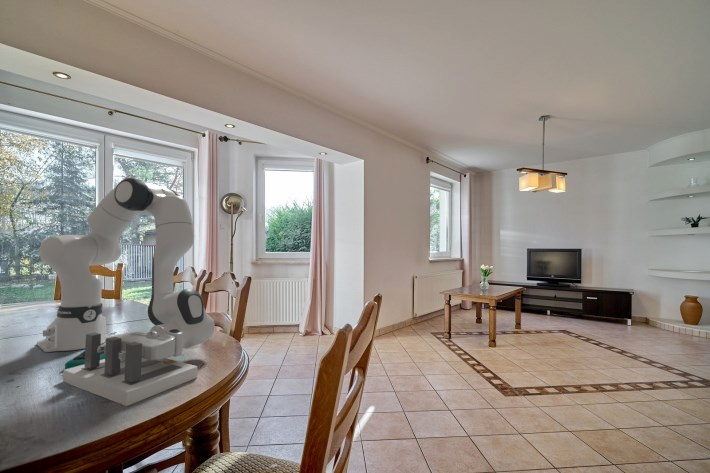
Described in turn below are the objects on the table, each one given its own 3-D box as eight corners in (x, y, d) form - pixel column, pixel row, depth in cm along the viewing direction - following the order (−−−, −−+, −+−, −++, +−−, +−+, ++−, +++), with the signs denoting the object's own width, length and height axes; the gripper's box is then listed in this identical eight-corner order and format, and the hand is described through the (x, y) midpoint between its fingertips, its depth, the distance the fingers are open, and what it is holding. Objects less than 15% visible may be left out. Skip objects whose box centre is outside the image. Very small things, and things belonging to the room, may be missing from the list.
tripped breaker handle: (104, 372, 81) (106, 338, 82) (113, 370, 83) (114, 336, 83) (111, 375, 80) (112, 340, 80) (120, 372, 82) (121, 338, 82)
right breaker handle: (124, 380, 77) (126, 343, 77) (133, 377, 79) (134, 341, 79) (131, 382, 76) (133, 345, 76) (140, 379, 78) (142, 343, 78)
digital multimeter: (113, 353, 107) (114, 344, 107) (95, 369, 93) (95, 359, 93) (86, 356, 104) (87, 347, 105) (63, 372, 91) (63, 362, 91)
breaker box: (62, 381, 84) (63, 369, 84) (135, 360, 100) (135, 350, 100) (126, 406, 71) (127, 391, 72) (197, 377, 88) (197, 365, 88)
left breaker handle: (84, 367, 85) (86, 334, 85) (93, 364, 87) (94, 332, 87) (90, 368, 84) (92, 335, 84) (99, 366, 85) (100, 333, 86)
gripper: (141, 324, 98) (87, 335, 85) (186, 333, 89) (133, 346, 77) (140, 345, 98) (86, 359, 85) (185, 356, 89) (132, 373, 76)
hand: (109, 353), depth 81 cm, fingers open, 8 cm apart
